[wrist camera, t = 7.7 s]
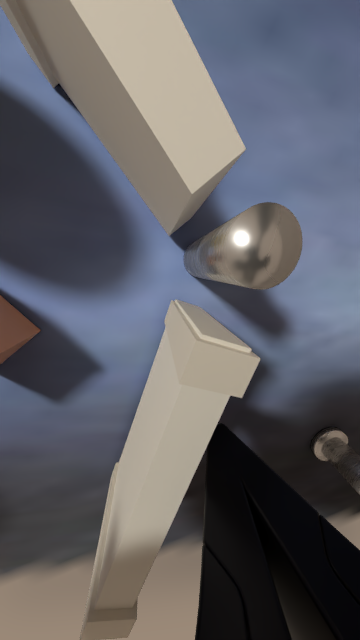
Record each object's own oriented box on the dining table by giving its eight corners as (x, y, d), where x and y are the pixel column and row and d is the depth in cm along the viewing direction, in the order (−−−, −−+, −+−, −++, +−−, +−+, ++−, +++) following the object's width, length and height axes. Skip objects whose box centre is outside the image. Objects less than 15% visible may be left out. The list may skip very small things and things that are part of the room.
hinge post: (205, 232, 8) (279, 182, 3) (224, 262, 9) (314, 256, 4) (176, 256, 8) (210, 239, 3) (197, 284, 9) (252, 305, 4)
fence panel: (65, 17, 6) (-388, -1301, 1) (194, 215, 8) (265, 129, 3) (28, 53, 6) (-568, -979, 1) (164, 240, 8) (186, 195, 3)
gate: (172, 298, 8) (198, 335, 4) (203, 308, 9) (262, 355, 4) (111, 477, 10) (78, 643, 6) (137, 480, 11) (126, 638, 6)
